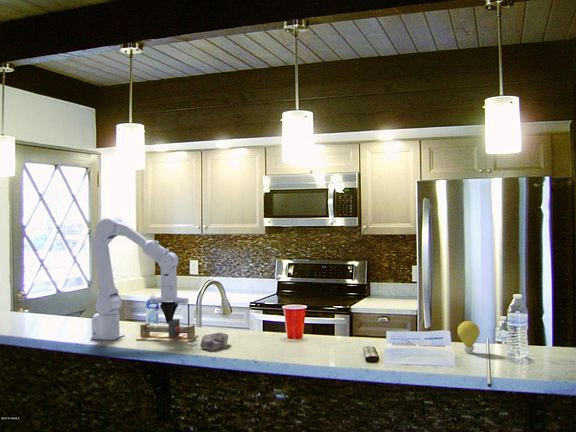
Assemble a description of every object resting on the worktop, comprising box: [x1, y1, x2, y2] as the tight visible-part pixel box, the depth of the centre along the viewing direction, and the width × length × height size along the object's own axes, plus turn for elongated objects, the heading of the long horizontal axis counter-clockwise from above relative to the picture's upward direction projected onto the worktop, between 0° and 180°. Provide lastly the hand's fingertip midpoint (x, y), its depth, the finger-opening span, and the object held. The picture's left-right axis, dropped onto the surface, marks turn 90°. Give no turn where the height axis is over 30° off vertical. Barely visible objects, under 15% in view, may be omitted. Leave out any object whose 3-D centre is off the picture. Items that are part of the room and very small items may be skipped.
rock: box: [199, 332, 229, 352], centre depth 196 cm, size 8×11×5 cm
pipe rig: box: [135, 322, 199, 344], centre depth 211 cm, size 20×10×5 cm, turn 75°
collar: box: [168, 318, 181, 338], centre depth 210 cm, size 2×5×6 cm, turn 165°
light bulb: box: [457, 320, 480, 355], centre depth 183 cm, size 7×7×10 cm
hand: (169, 323), depth 211 cm, fingers closed
